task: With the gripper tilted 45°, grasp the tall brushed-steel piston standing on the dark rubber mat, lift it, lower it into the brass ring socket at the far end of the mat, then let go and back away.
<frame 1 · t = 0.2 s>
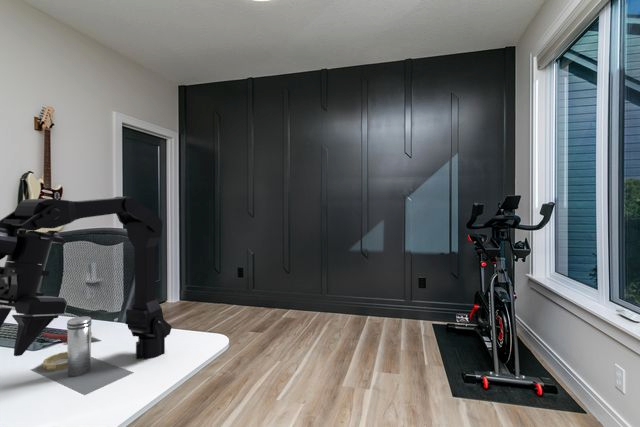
hand: (0, 352, 57), 16 cm above the table, tool pointing down, fingers open, 9 cm apart
mat: (81, 375, 80), on the table
pliers: (70, 342, 102), on the table
piston: (79, 372, 80), point 1 cm above the table, touching mat
socket collar: (63, 367, 84), resting on mat
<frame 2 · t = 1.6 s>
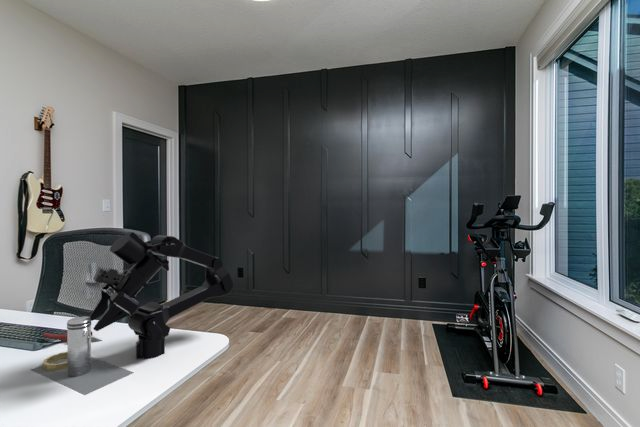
hand: (92, 324, 81), 12 cm above the table, tool tilted 45°, fingers open, 9 cm apart
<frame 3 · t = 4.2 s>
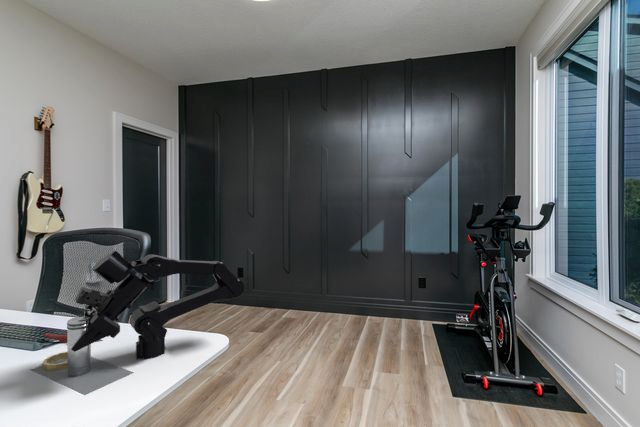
hand: (72, 347, 79), 8 cm above the table, tool tilted 45°, fingers closed on piston, 5 cm apart
piston: (79, 372, 80), point 1 cm above the table, touching gripper, mat
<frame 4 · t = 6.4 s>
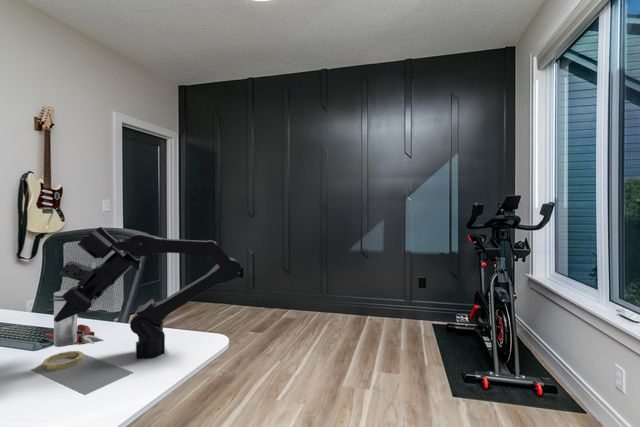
hand: (58, 317, 82), 14 cm above the table, tool tilted 45°, fingers closed on piston, 5 cm apart
piston: (65, 343, 82), point 7 cm above the table, touching gripper
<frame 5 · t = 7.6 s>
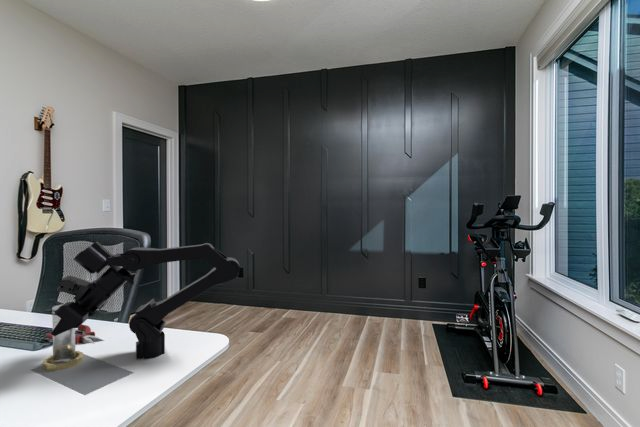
hand: (57, 331, 84), 9 cm above the table, tool tilted 45°, fingers closed on piston, 5 cm apart
piston: (64, 355, 84), point 3 cm above the table, touching gripper
when the fingers open (8 cm above the table, at t = 8.7 s): piston stays where it is, resting on mat.
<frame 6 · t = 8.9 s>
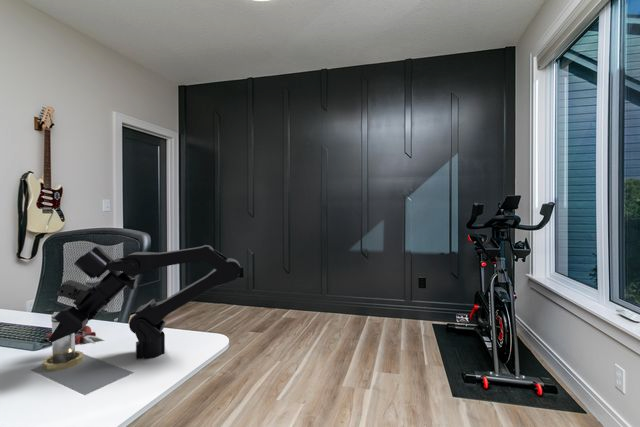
hand: (57, 335, 84), 8 cm above the table, tool tilted 45°, fingers open, 7 cm apart
piston: (64, 363, 84), point 1 cm above the table, touching mat
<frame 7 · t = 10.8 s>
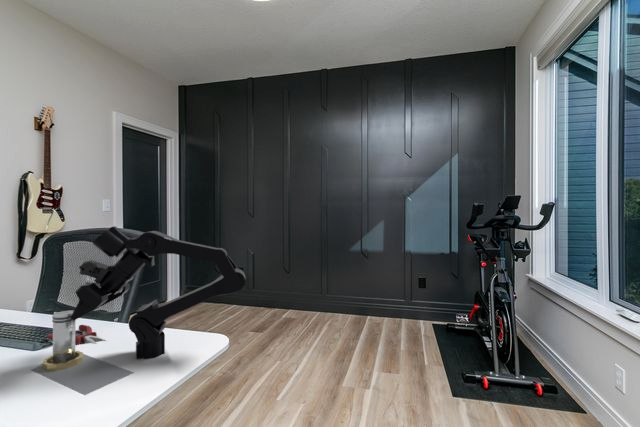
hand: (82, 314, 86), 13 cm above the table, tool tilted 40°, fingers open, 9 cm apart
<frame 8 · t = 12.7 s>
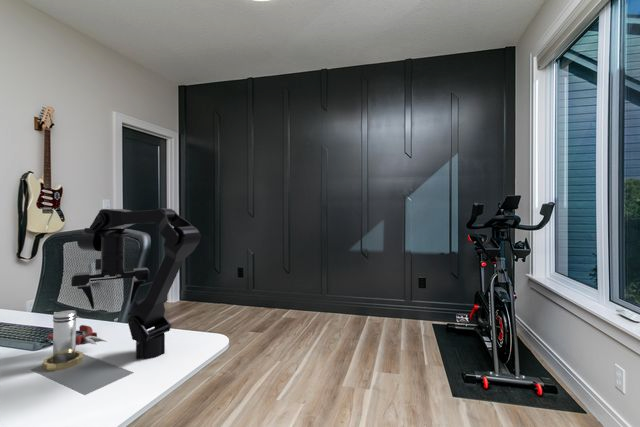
hand: (112, 305, 94), 13 cm above the table, tool pointing down, fingers open, 9 cm apart
at the end: piston 0.2 cm from the target spot, point 1.0 cm above the table; piston tilted 1°; the gripper is holding nothing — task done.
